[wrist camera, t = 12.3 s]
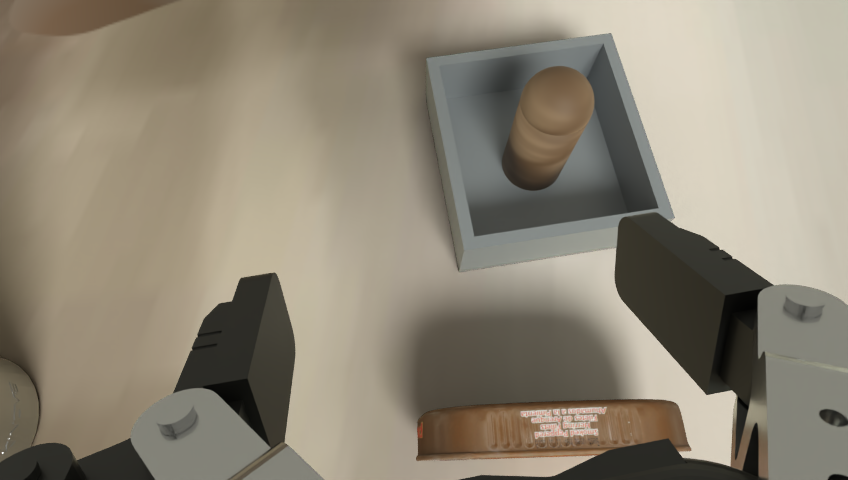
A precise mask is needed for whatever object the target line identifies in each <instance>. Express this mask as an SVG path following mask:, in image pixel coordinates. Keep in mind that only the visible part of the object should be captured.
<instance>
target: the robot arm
mask: <svg viewBox="0 0 848 480" xmlns="http://www.w3.org/2000/svg"><path fill="white" fill-rule="evenodd" d="M615 284H616V288H617V291H618V294H619V296H620V298H621V299H622V300H623V302H624V303H625V304H626V305H627V306H628V307H629V308H630V310H631V311H632V312H633V313H634V314H635V315H636V316H637V317H638V319H639V320H640V321H641V322H642V323H643V324H644V325H645V326H646V327H647V329H648V330H649V331H650V332H651V333H652V334H653V335H654V336H655V338H656V339H657V340H658V341H659V342H660V343H661V344H662V345H663V347H664V348H665V349H666V350H667V351H668V352H669V353H670V354H671V355H672V357H673V358H674V359H675V360H676V361H677V362H678V363H679V364H680V366H681V367H682V368H683V369H684V370H685V371H686V372H687V373H688V374H689V376H690V377H691V378H692V379H693V380H694V381H695V382H696V383H697V385H698V386H699V387H700V388H701V389H702V390H703V391H704V392H705V394H706V395H709V394H714V393H719V392H724V391H730V390H733V391H734V392H735V393H736V399H735V404H734V409H733V428H732V449H731V467H730V466H726V465H723V464H719V463H714V462H710V461H705V460H698V459H690V458H682V456H681V455H680V454H679V452H678V451H677V449H676V448H675V447H674V445H673V444H672V443H671V441H670V440H669V438H667V439H662V440H657V441H652V442H647V443H642V444H637V445H632V446H627V447H622V448H617V449H611V450H608V451H606V452H604V453H602V454H600V455H597V456H595V457H593V458H591V459H589V460H587V461H585V462H583V463H581V464H579V465H577V466H575V467H573V468H571V469H569V470H566V471H564V472H562V473H560V474H558V475H555V476H552V477H524V476H491V475H480V476H475V477H470V478H465V479H460V480H848V305H847V304H845V303H844V302H843V301H842V300H840V299H839V298H837V297H835V296H833V295H831V294H829V293H826V292H824V291H821V290H818V289H814V288H810V287H806V286H800V285H775V286H774V285H773V284H771V283H770V282H768V281H767V280H765V279H764V278H763V277H761V276H760V275H758V274H757V273H755V272H754V271H752V270H751V269H750V268H748V267H747V266H745V265H744V264H742V263H741V262H739V261H738V260H737V259H732V256H731V255H729V254H728V253H726V252H725V251H723V250H719V247H718V246H716V245H715V244H713V243H712V242H710V241H709V240H708V239H706V238H705V237H703V236H701V235H698V234H695V233H692V232H690V231H687V230H684V229H682V228H678V227H677V226H676V225H674V224H673V223H671V222H670V221H669V220H667V219H666V218H664V217H663V216H662V215H660V214H659V213H657V212H651V213H645V214H638V215H632V216H626V217H623V218H622V219H621V220H620V222H619V225H618V234H617V249H616V263H615ZM197 335H198V338H196V339H195V342H194V344H193V346H192V351H190V354H189V356H188V359H187V361H186V363H185V366H184V368H183V371H182V373H181V375H180V378H179V380H178V383H177V385H176V388H175V390H174V392H173V394H171V395H168V396H167V397H165V398H163V399H161V400H159V401H158V402H156V403H154V404H153V405H152V406H151V407H149V408H148V409H147V410H146V411H145V412H144V413H143V414H142V415H141V416H140V417H139V418H138V420H137V421H136V423H135V424H134V426H133V428H132V431H131V438H129V439H128V440H126V441H123V442H121V443H119V444H116V445H114V446H112V447H109V448H107V449H104V450H102V451H99V452H97V453H94V454H92V455H89V456H87V457H84V458H82V459H79V460H76V458H75V457H74V455H73V453H72V452H71V450H70V448H68V447H67V446H66V445H63V444H59V443H46V444H40V445H36V446H33V447H31V445H32V442H33V439H34V437H35V434H36V430H37V425H38V419H39V401H38V397H37V393H36V389H35V387H34V385H33V383H32V381H31V379H30V378H29V376H28V375H27V374H26V373H25V372H24V371H23V370H22V369H21V368H20V367H19V366H18V365H16V364H14V363H13V362H11V361H9V360H7V359H3V358H0V480H324V479H323V478H322V477H321V476H320V475H319V474H318V473H317V472H316V471H315V470H314V469H313V468H312V467H311V466H310V465H309V464H307V463H306V462H305V461H304V460H303V459H302V458H301V457H300V456H299V455H298V454H297V453H296V452H295V451H294V450H293V449H292V448H291V447H289V446H288V445H287V444H285V443H284V441H285V433H286V425H287V418H288V410H289V402H290V394H291V386H292V378H293V370H294V362H295V341H294V334H293V329H292V326H291V322H290V318H289V315H288V311H287V307H286V304H285V300H284V296H283V292H282V289H281V285H280V282H279V279H278V276H277V275H276V273H268V274H262V275H256V276H250V277H244V278H241V279H240V280H239V283H238V286H237V289H236V292H235V295H234V298H233V300H232V302H226V303H220V304H218V305H217V306H216V307H215V308H214V309H213V310H212V311H211V312H210V313H209V314H208V315H207V316H206V317H205V318H204V320H203V322H202V325H201V327H200V330H199V332H198V334H197Z"/></svg>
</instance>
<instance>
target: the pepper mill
mask: <svg viewBox="0 0 848 480" xmlns="http://www.w3.org/2000/svg"><path fill="white" fill-rule="evenodd" d="M593 109H594V93H593V89H592V87H591V85H590V83H589V81H588V80H587V79H586V77H585V76H584V75H583V74H581V73H580V72H579V71H577V70H575V69H573V68H570V67H566V66H553V67H549V68H545V69H543V70H541V71H539V72H538V73H536V74H535V75H534V76H533V77H532V78H531V79H530V80H529V81H528V82H527V84H526V85H525V87H524V89H523V91H522V94H521V97H520V101H519V104H518V107H517V111H516V114H515V117H514V121H513V124H512V127H511V131H510V134H509V137H508V141H507V144H506V147H505V151H504V154H503V157H502V168H503V171H504V174H505V175H506V177H507V178H508V180H509V181H510V182H511V183H512V184H514V185H515V186H517V187H519V188H521V189H524V190H529V191H538V190H542V189H545V188H547V187H549V186H550V185H552V184H553V183H554V182H555V181H556V180H557V178H558V176H559V174H560V173H561V171H562V169H563V167H564V165H565V164H566V162H567V160H568V158H569V156H570V154H571V153H572V151H573V149H574V147H575V145H576V144H577V142H578V140H579V138H580V136H581V135H582V133H583V131H584V129H585V127H586V125H587V124H588V122H589V120H590V118H591V116H592V113H593Z"/></svg>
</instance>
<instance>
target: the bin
mask: <svg viewBox="0 0 848 480" xmlns="http://www.w3.org/2000/svg"><path fill="white" fill-rule="evenodd" d="M553 66H566V67H570V68H573V69H575V70H577V71H579V72H580V73H581V74H583V75H584V76H585V77H586V79H587V80H588V81H589V83H590V85H591V87H592V89H593V93H594V109H593V113H592V116H591V118H590V120H589V122H588V124H587V125H586V127H585V129H584V131H583V133H582V135H581V136H580V138H579V140H578V142H577V144H576V145H575V147H574V149H573V151H572V153H571V154H570V156H569V158H568V160H567V162H566V164H565V165H564V167H563V169H562V171H561V173H560V174H559V176H558V178H557V180H556V181H555V182H554V183H553V184H552V185H550V186H549V187H547V188H545V189H542V190H538V191H529V190H524V189H521V188H519V187H517V186H515V185H514V184H512V183H511V182H510V181H509V180H508V178H507V177H506V175H505V174H504V171H503V168H502V157H503V154H504V151H505V147H506V144H507V141H508V137H509V134H510V131H511V127H512V124H513V121H514V117H515V114H516V111H517V107H518V104H519V101H520V97H521V94H522V91H523V89H524V87H525V85H526V84H527V82H528V81H529V80H530V79H531V78H532V77H533V76H534V75H535V74H536V73H538V72H539V71H541V70H543V69H545V68H549V67H553ZM426 102H427V107H428V112H429V117H430V123H431V128H432V133H433V138H434V144H435V149H436V154H437V159H438V164H439V170H440V175H441V180H442V185H443V191H444V196H445V201H446V206H447V212H448V217H449V222H450V227H451V233H452V238H453V243H454V248H455V253H456V259H457V264H458V269H459V272H464V271H470V270H476V269H483V268H489V267H496V266H502V265H508V264H515V263H521V262H527V261H534V260H540V259H546V258H553V257H559V256H566V255H572V254H578V253H585V252H591V251H597V250H604V249H610V248H617V234H618V225H619V222H620V220H621V219H622V218H623V217H626V216H632V215H638V214H645V213H651V212H657V213H659V214H660V215H662V216H663V217H664V218H666V219H667V220H669V221H672V220H673V219H674V218H675V217H674V214H673V211H672V208H671V205H670V202H669V199H668V197H667V194H666V191H665V188H664V185H663V182H662V179H661V176H660V173H659V170H658V168H657V165H656V162H655V159H654V156H653V153H652V150H651V147H650V144H649V141H648V139H647V136H646V133H645V130H644V127H643V124H642V121H641V118H640V115H639V112H638V110H637V107H636V104H635V101H634V98H633V95H632V92H631V89H630V86H629V83H628V81H627V78H626V75H625V72H624V69H623V66H622V63H621V60H620V57H619V54H618V52H617V49H616V46H615V43H614V40H613V37H612V34H611V33H609V34H601V35H594V36H586V37H579V38H571V39H564V40H557V41H549V42H542V43H534V44H527V45H519V46H512V47H504V48H497V49H490V50H482V51H475V52H467V53H460V54H452V55H445V56H438V57H430V58H426Z"/></svg>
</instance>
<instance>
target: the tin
mask: <svg viewBox="0 0 848 480" xmlns="http://www.w3.org/2000/svg"><path fill="white" fill-rule="evenodd" d="M417 433H418V456H417V457H416V460H417V461H421V460H443V461H447V460H467V459H500V458H531V457H562V456H589V455H600V454H602V453H604V452H606V451H608V450H611V449H617V448H622V447H627V446H632V445H637V444H642V443H647V442H652V441H657V440H662V439H667V438H669V440H670V441H671V443H672V444H673V445H674V447H675V448H676V449H677V451H691V448H690V446H689V444H688V442H687V437H686V433H685V428H684V424H683V420H682V416H681V412H680V409H679V406H678V405H677V404H676V403H674V402H672V401H666V400H653V399H624V400H586V401H551V402H529V403H508V404H487V405H471V406H459V407H450V408H443V409H437V410H433V411H429V412H427V413H425V414H423V416H422V417H421V418H419V420H418V426H417Z"/></svg>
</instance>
